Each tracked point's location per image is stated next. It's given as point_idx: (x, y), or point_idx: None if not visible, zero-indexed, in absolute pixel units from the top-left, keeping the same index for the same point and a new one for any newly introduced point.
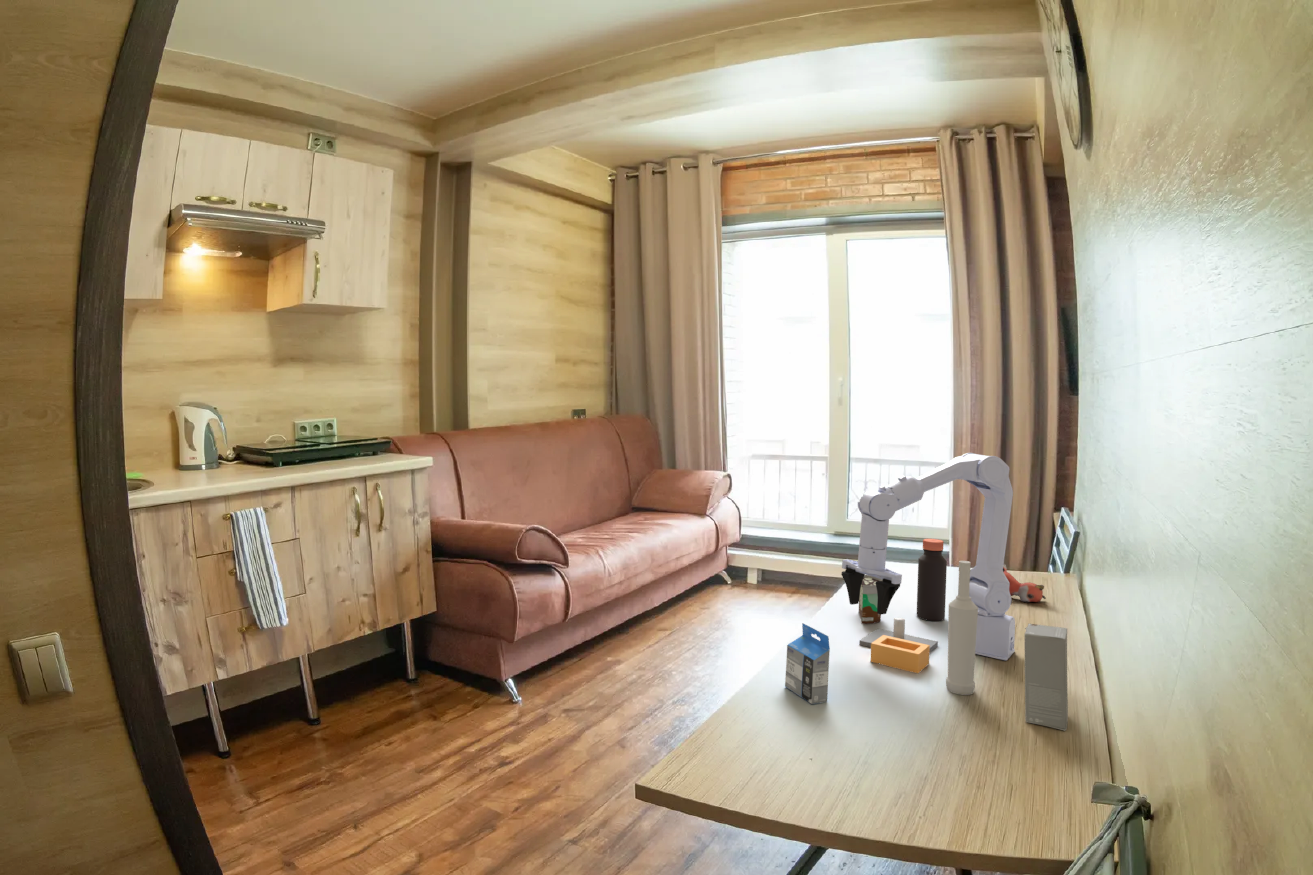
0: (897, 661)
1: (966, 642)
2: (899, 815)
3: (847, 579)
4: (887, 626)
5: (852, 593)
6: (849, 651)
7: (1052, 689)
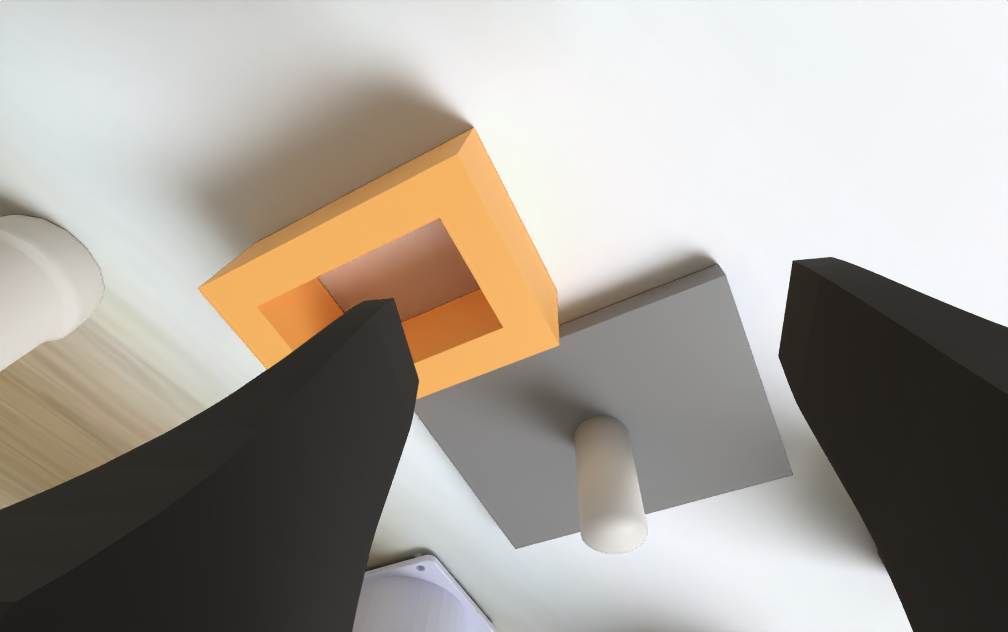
0: (326, 209)
1: None
2: None
3: None
4: (808, 538)
5: (873, 347)
6: (670, 127)
7: None
